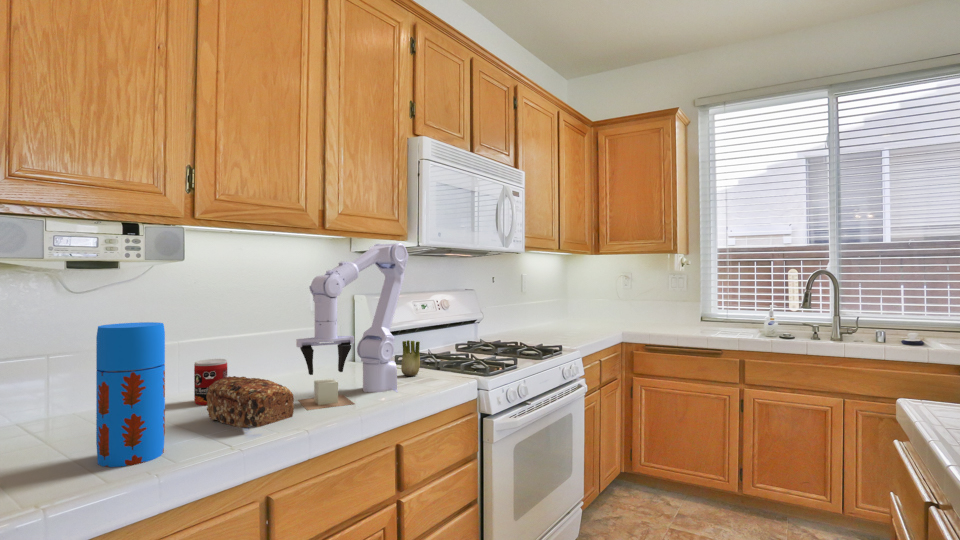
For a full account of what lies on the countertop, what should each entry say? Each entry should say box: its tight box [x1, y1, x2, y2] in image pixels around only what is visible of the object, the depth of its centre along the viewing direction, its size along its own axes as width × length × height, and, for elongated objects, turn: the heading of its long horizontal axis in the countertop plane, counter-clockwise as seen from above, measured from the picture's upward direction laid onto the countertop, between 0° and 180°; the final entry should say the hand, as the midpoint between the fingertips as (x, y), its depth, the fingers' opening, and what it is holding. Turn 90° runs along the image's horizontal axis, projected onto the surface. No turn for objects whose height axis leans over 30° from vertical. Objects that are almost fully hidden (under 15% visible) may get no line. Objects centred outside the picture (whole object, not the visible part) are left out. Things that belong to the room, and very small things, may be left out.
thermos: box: [95, 321, 166, 468], centre depth 99 cm, size 11×11×25 cm
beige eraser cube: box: [313, 378, 339, 405], centre depth 137 cm, size 5×5×5 cm
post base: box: [297, 394, 356, 411], centre depth 137 cm, size 12×12×5 cm
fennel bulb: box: [400, 340, 421, 377], centre depth 176 cm, size 6×5×12 cm
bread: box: [206, 375, 295, 429], centre depth 123 cm, size 19×11×10 cm, turn 60°
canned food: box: [193, 358, 228, 406], centre depth 141 cm, size 8×8×11 cm
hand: (325, 372), depth 137 cm, fingers open, 7 cm apart
